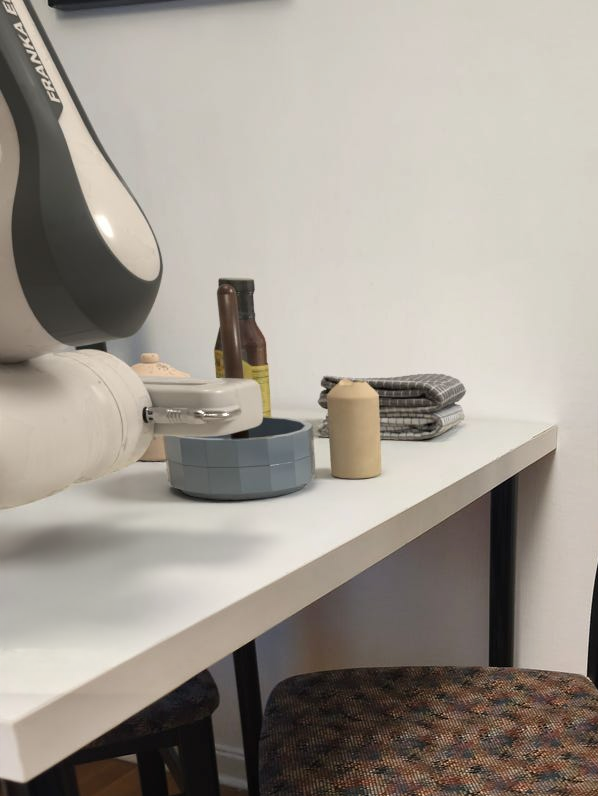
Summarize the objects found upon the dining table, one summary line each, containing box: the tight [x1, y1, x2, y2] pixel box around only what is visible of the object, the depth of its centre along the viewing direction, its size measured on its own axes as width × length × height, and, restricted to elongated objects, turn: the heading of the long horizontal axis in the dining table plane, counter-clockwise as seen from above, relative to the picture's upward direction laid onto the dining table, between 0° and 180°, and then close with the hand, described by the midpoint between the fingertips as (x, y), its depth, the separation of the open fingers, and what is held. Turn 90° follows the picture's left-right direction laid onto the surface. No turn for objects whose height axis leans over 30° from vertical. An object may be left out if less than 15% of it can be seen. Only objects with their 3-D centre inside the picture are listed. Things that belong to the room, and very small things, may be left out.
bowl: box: [163, 416, 317, 501], centre depth 91 cm, size 15×15×6 cm
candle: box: [327, 379, 382, 480], centre depth 96 cm, size 6×6×10 cm
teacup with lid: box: [129, 352, 192, 462], centre depth 105 cm, size 12×9×12 cm
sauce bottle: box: [213, 277, 272, 417], centre depth 107 cm, size 6×6×20 cm
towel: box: [316, 373, 467, 441], centre depth 123 cm, size 15×18×8 cm
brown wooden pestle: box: [216, 284, 249, 439], centre depth 89 cm, size 6×6×19 cm
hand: (176, 391), depth 77 cm, fingers open, 8 cm apart
